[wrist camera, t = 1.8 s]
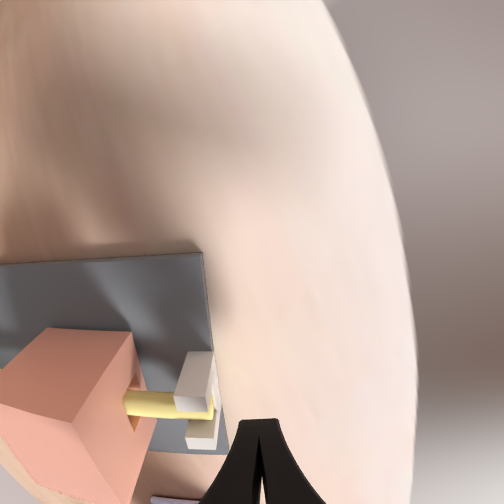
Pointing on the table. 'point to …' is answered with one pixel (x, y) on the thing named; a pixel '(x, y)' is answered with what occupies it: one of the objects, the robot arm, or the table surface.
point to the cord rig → (143, 331)
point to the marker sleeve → (76, 413)
